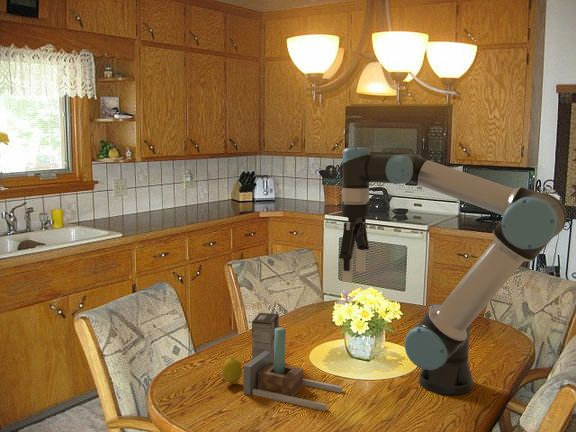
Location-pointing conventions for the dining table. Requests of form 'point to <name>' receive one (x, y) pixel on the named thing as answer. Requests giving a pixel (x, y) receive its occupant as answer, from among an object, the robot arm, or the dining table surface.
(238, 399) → the dining table surface
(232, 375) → the lemon
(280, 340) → the dowel
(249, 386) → the slide base
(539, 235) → the robot arm
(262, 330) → the coffee box
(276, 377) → the socket block
